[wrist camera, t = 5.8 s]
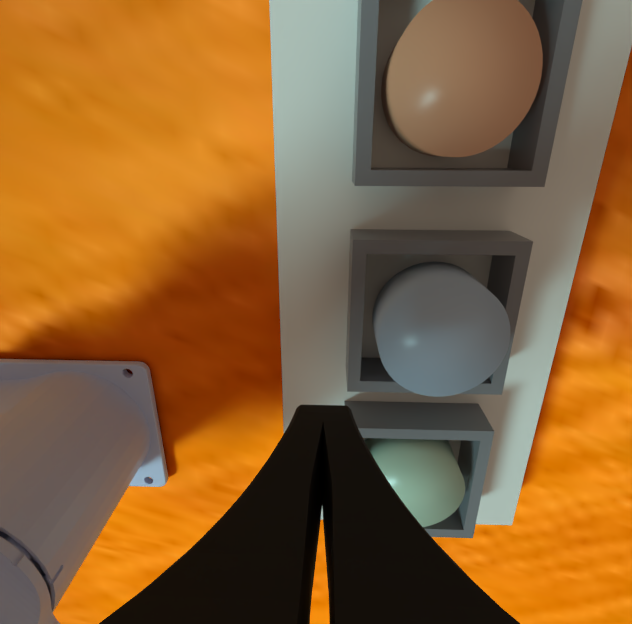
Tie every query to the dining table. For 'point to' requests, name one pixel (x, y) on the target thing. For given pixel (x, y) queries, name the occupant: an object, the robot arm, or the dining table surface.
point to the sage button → (421, 475)
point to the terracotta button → (462, 76)
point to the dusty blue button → (439, 329)
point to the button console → (432, 225)
